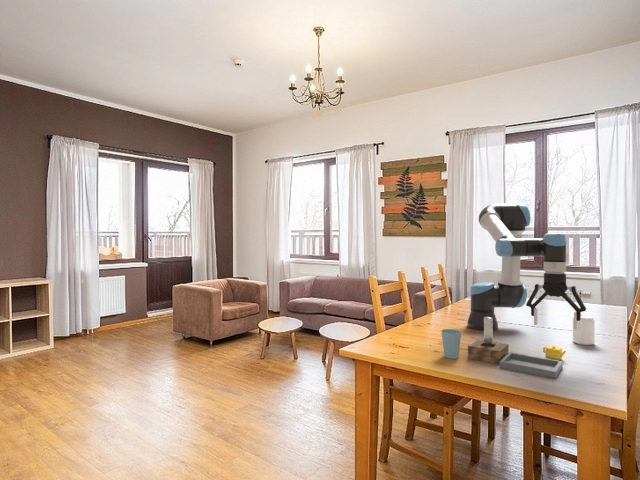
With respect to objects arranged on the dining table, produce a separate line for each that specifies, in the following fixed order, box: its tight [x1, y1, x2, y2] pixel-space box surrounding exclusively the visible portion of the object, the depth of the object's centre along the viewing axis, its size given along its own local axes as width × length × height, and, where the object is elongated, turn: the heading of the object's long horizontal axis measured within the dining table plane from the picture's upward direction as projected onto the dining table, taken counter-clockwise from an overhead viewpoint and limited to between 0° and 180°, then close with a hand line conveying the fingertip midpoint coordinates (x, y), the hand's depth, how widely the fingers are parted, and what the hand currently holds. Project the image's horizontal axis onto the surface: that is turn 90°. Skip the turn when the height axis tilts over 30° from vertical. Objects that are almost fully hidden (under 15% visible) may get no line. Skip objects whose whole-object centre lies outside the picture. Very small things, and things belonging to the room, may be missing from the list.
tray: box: [499, 351, 564, 380], centre depth 145 cm, size 18×14×2 cm
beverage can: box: [572, 314, 596, 346], centre depth 175 cm, size 8×8×12 cm
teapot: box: [542, 345, 567, 361], centre depth 155 cm, size 8×6×5 cm
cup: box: [440, 328, 462, 360], centre depth 159 cm, size 8×8×10 cm
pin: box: [483, 317, 494, 347], centre depth 157 cm, size 3×3×14 cm
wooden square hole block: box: [467, 338, 510, 365], centre depth 157 cm, size 12×12×5 cm
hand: (555, 326), depth 154 cm, fingers open, 13 cm apart
